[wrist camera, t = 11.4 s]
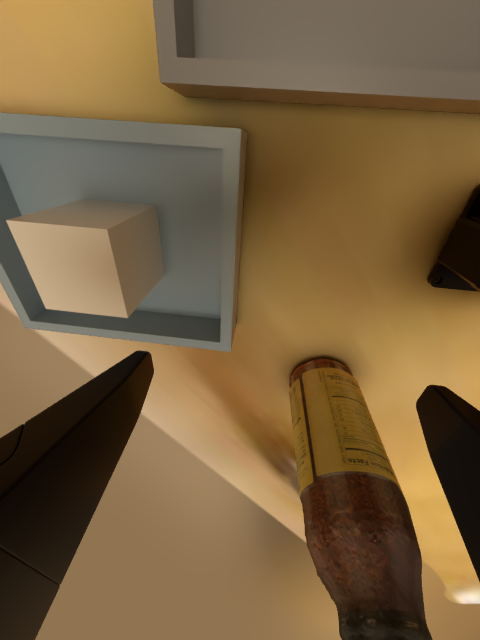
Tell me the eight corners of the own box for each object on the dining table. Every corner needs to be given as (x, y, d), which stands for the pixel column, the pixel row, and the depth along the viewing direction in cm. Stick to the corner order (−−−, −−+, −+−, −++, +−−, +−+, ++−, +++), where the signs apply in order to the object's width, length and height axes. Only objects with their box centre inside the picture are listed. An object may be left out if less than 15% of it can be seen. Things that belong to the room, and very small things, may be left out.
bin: (247, 132, 14) (241, 128, 11) (236, 324, 22) (230, 351, 19) (-24, 114, 15) (-94, 106, 12) (56, 304, 23) (24, 328, 20)
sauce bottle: (315, 406, 27) (380, 794, 11) (275, 376, 25) (278, 791, 9) (370, 378, 24) (577, 865, 8) (329, 341, 22) (486, 885, 6)
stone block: (156, 205, 17) (107, 229, 12) (164, 275, 19) (127, 318, 15) (83, 198, 17) (5, 220, 12) (102, 268, 20) (45, 308, 15)
